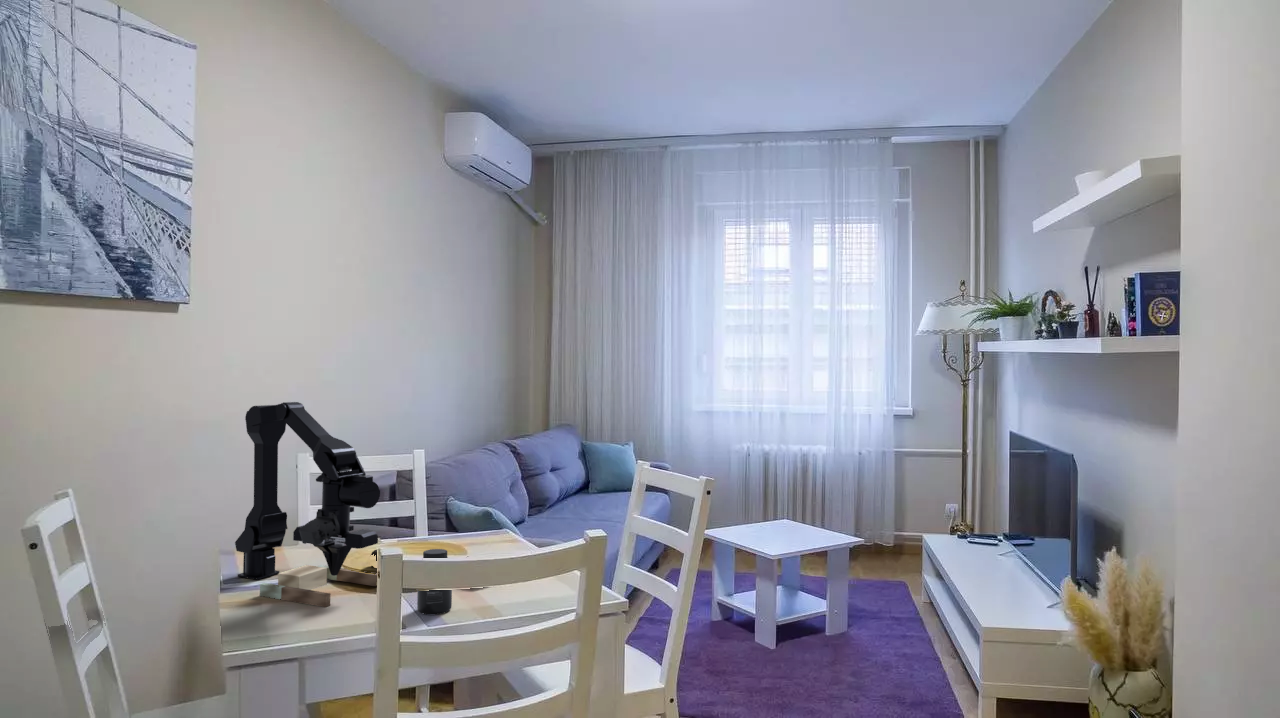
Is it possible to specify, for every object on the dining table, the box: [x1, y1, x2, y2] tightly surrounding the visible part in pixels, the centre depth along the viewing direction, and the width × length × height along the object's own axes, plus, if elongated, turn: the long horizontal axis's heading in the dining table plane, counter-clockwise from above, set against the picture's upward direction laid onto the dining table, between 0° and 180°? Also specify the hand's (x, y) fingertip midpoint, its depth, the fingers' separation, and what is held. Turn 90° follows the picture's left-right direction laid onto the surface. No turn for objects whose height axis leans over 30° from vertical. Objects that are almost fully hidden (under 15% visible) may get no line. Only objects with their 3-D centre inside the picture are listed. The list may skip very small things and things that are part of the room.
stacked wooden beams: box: [259, 565, 377, 608], centre depth 168 cm, size 18×17×2 cm
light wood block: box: [277, 564, 328, 590], centre depth 170 cm, size 6×8×4 cm
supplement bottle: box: [416, 548, 453, 615], centre depth 156 cm, size 7×7×12 cm
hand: (334, 575), depth 167 cm, fingers closed
